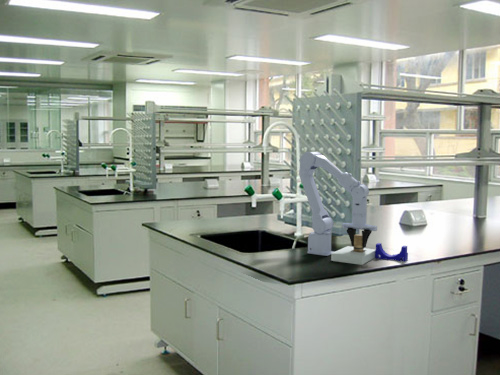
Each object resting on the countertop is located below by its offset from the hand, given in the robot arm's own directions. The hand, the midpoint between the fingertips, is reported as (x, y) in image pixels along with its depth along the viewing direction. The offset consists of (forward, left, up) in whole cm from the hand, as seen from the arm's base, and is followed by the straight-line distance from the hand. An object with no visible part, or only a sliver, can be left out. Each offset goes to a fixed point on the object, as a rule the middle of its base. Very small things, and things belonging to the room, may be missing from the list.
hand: (358, 246), depth 206 cm
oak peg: (0, 0, -3) cm, 3 cm away
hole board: (-1, -2, -5) cm, 5 cm away
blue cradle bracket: (+12, +6, -5) cm, 14 cm away
